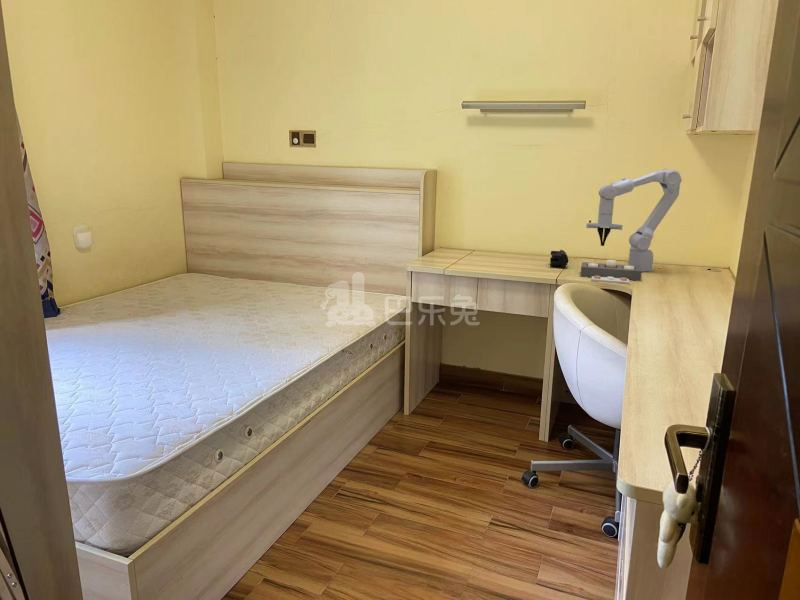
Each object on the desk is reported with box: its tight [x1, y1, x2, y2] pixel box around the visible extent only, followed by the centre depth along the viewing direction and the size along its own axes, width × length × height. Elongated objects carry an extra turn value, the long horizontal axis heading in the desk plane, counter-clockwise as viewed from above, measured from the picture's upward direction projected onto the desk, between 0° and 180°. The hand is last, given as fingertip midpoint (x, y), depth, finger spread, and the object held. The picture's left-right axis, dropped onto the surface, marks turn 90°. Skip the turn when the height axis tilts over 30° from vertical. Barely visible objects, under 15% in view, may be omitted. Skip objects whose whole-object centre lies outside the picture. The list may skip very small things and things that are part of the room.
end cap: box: [549, 249, 569, 269], centre depth 268 cm, size 10×7×7 cm
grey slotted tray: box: [580, 261, 643, 282], centre depth 250 cm, size 23×11×4 cm, turn 72°
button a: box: [624, 264, 634, 269], centre depth 248 cm, size 4×4×4 cm
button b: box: [605, 259, 617, 268], centre depth 249 cm, size 4×4×4 cm
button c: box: [588, 262, 598, 267], centre depth 252 cm, size 4×4×4 cm
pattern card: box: [591, 275, 630, 285], centre depth 241 cm, size 14×6×2 cm, turn 72°
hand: (602, 245), depth 261 cm, fingers closed
